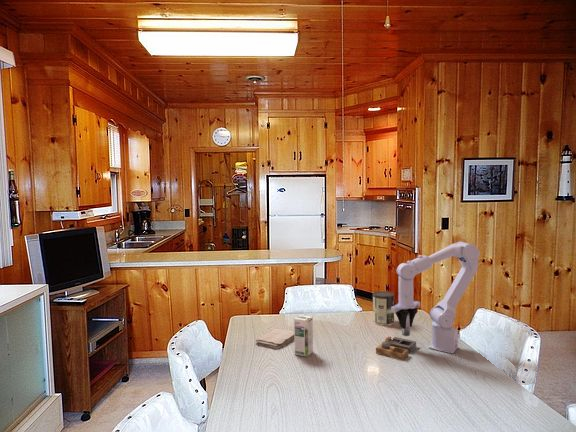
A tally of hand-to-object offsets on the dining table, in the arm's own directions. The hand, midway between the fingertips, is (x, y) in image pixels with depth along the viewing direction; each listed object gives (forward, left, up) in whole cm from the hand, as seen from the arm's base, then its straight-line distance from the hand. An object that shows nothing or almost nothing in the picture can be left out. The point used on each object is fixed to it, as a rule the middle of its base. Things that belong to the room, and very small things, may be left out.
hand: (406, 326), depth 154 cm
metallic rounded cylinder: (0, 0, -3) cm, 3 cm away
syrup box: (+31, +28, -9) cm, 43 cm away
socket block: (+2, 0, -9) cm, 9 cm away
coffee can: (+21, -25, -9) cm, 34 cm away
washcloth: (+48, +23, -10) cm, 54 cm away
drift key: (+6, 0, -9) cm, 10 cm away
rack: (+2, +9, -9) cm, 13 cm away
